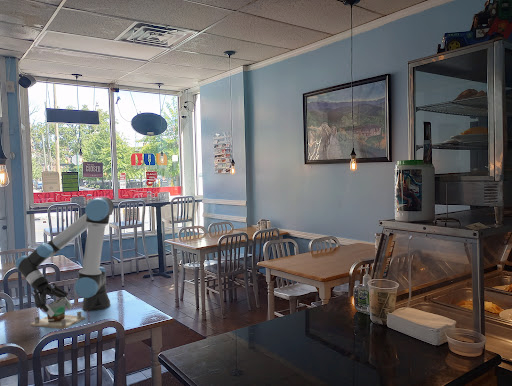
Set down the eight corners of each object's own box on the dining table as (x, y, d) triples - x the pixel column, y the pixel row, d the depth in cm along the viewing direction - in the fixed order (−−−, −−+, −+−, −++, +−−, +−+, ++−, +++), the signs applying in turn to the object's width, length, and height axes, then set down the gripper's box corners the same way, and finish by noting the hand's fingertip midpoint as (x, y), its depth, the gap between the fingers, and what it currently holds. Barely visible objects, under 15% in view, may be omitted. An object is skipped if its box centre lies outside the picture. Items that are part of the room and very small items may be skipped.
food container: (56, 323, 204) (55, 304, 204) (46, 323, 206) (45, 304, 205) (72, 315, 217) (71, 296, 216) (62, 314, 218) (61, 296, 217)
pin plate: (53, 315, 221) (53, 308, 221) (85, 318, 215) (84, 311, 214) (31, 325, 207) (30, 317, 206) (64, 329, 200) (63, 321, 200)
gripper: (51, 279, 226) (75, 308, 222) (14, 291, 203) (39, 324, 199) (58, 270, 224) (82, 299, 220) (21, 282, 201) (47, 314, 197)
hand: (62, 311), depth 210 cm, fingers closed on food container, 12 cm apart
